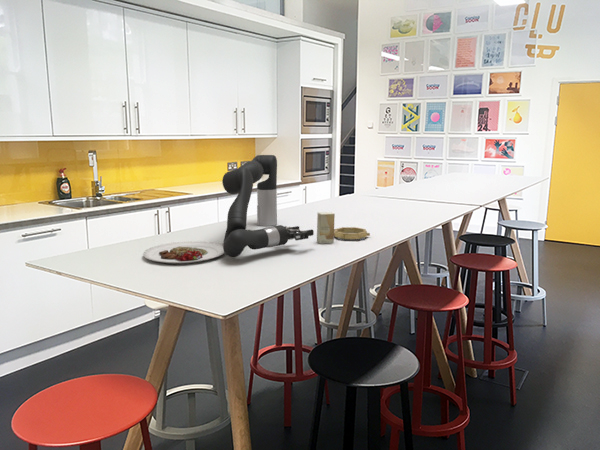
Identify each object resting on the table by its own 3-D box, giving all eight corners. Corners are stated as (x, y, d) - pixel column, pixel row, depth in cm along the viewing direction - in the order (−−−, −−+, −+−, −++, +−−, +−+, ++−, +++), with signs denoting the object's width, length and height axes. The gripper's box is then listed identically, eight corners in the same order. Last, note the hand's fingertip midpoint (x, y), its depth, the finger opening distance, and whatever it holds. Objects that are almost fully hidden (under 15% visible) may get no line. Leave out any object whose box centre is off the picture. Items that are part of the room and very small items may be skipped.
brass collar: (332, 239, 209) (332, 233, 208) (330, 232, 222) (330, 227, 221) (371, 238, 209) (371, 233, 208) (367, 232, 222) (367, 227, 221)
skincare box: (319, 244, 204) (319, 214, 201) (316, 241, 208) (316, 212, 205) (334, 243, 205) (335, 213, 203) (331, 240, 209) (331, 211, 207)
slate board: (338, 240, 210) (338, 238, 210) (336, 234, 221) (336, 232, 220) (364, 240, 210) (364, 238, 210) (361, 234, 221) (361, 232, 221)
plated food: (192, 242, 208) (191, 234, 208) (243, 254, 190) (242, 245, 189) (127, 257, 186) (126, 248, 185) (177, 272, 167) (177, 262, 166)
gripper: (284, 229, 182) (317, 223, 192) (261, 223, 193) (294, 218, 203) (284, 249, 184) (317, 242, 194) (261, 243, 194) (294, 236, 205)
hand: (305, 230), depth 198 cm, fingers open, 8 cm apart
